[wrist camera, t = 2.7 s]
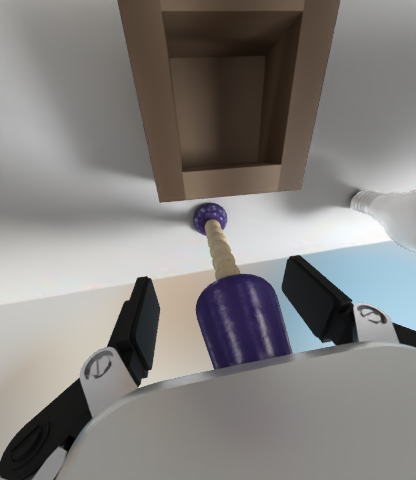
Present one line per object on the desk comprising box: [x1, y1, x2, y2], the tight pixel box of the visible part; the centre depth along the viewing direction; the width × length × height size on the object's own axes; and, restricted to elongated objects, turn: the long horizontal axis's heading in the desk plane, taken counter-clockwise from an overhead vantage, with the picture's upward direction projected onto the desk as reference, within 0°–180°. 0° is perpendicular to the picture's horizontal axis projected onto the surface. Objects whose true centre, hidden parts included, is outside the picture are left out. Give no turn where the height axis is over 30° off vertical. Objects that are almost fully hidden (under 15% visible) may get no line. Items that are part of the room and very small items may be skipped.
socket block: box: [118, 0, 340, 203], centre depth 12 cm, size 10×10×8 cm
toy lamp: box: [193, 203, 292, 370], centre depth 13 cm, size 5×5×17 cm
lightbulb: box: [350, 189, 416, 252], centre depth 17 cm, size 6×6×11 cm
